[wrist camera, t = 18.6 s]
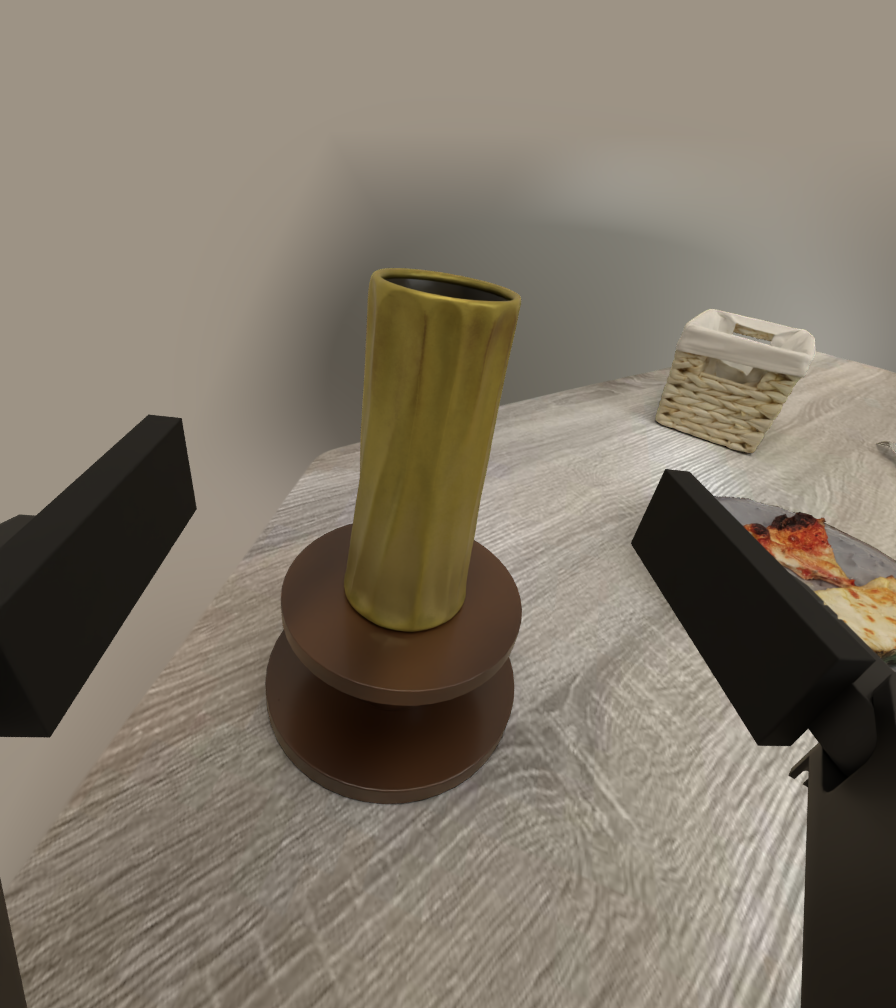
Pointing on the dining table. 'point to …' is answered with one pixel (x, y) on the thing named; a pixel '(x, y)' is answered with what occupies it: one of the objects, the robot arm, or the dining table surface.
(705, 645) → the robot arm
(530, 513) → the dining table surface
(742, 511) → the food plate
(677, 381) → the basket
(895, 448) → the fork
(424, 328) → the vase
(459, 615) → the stand
